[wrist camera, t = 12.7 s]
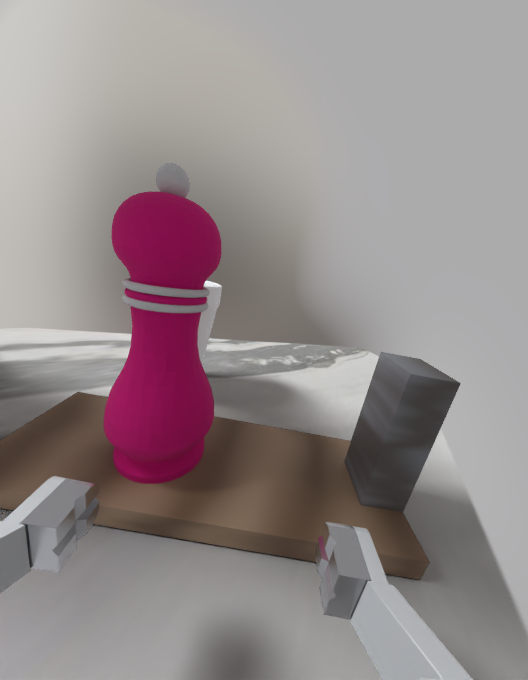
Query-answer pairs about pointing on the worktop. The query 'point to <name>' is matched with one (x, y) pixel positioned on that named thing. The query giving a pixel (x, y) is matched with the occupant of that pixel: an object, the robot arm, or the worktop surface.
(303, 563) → the worktop surface
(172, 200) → the pepper mill
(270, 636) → the worktop surface
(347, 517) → the strip
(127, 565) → the worktop surface
